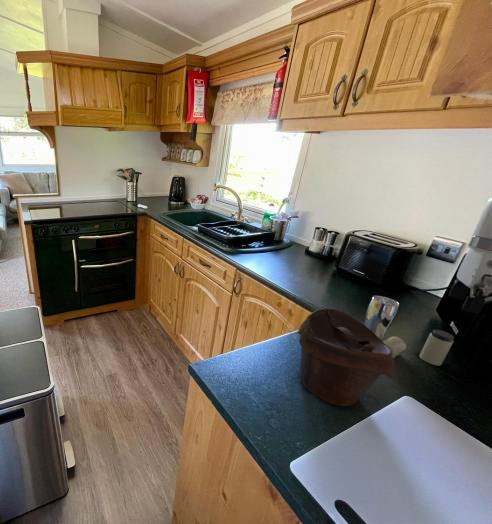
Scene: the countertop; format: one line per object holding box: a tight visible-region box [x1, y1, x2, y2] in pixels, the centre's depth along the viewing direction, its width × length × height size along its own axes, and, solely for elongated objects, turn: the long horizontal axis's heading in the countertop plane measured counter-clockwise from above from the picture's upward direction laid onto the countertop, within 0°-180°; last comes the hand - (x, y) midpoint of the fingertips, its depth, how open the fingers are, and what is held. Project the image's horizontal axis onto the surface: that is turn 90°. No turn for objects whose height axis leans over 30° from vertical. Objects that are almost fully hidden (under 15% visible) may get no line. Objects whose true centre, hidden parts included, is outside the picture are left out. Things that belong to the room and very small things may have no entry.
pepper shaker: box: [418, 329, 455, 367], centre depth 85 cm, size 5×5×9 cm
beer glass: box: [364, 295, 400, 341], centre depth 91 cm, size 7×7×15 cm
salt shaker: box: [383, 336, 407, 359], centre depth 86 cm, size 5×5×9 cm
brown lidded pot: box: [297, 307, 396, 407], centre depth 69 cm, size 18×20×18 cm
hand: (462, 304), depth 79 cm, fingers open, 9 cm apart
